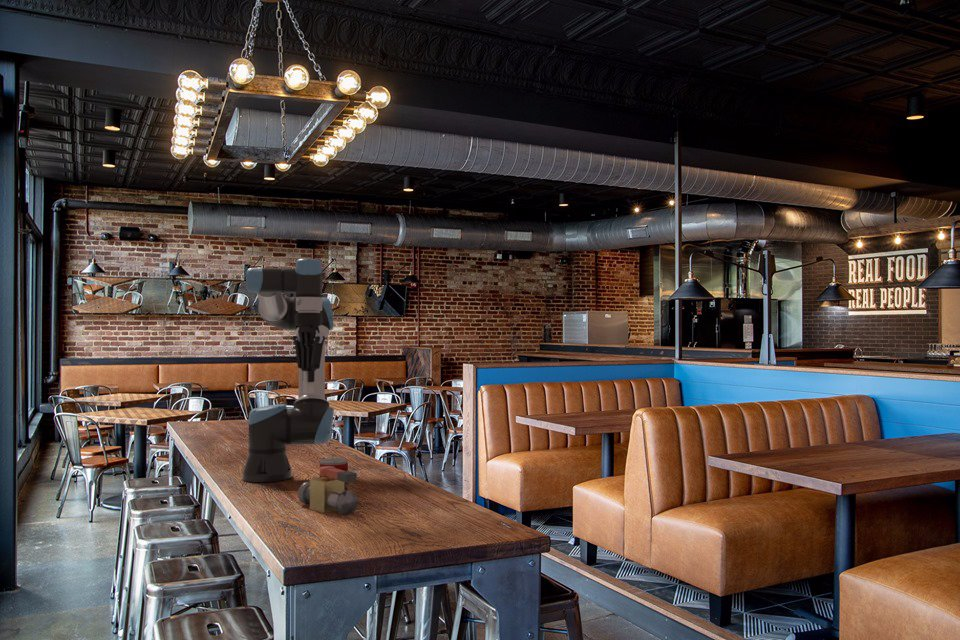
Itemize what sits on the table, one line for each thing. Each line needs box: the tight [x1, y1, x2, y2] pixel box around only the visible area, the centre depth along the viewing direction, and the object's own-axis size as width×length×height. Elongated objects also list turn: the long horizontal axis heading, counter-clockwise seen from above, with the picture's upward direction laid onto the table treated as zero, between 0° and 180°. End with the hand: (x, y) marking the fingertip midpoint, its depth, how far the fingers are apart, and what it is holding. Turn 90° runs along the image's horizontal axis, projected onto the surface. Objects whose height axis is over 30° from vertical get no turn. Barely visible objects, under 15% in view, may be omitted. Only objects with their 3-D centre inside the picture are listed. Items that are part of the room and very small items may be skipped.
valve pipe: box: [297, 476, 359, 516], centre depth 197 cm, size 18×6×9 cm, turn 47°
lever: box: [319, 466, 357, 483], centre depth 193 cm, size 14×4×2 cm, turn 41°
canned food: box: [319, 457, 349, 491], centre depth 208 cm, size 8×8×11 cm
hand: (308, 393), depth 215 cm, fingers closed
